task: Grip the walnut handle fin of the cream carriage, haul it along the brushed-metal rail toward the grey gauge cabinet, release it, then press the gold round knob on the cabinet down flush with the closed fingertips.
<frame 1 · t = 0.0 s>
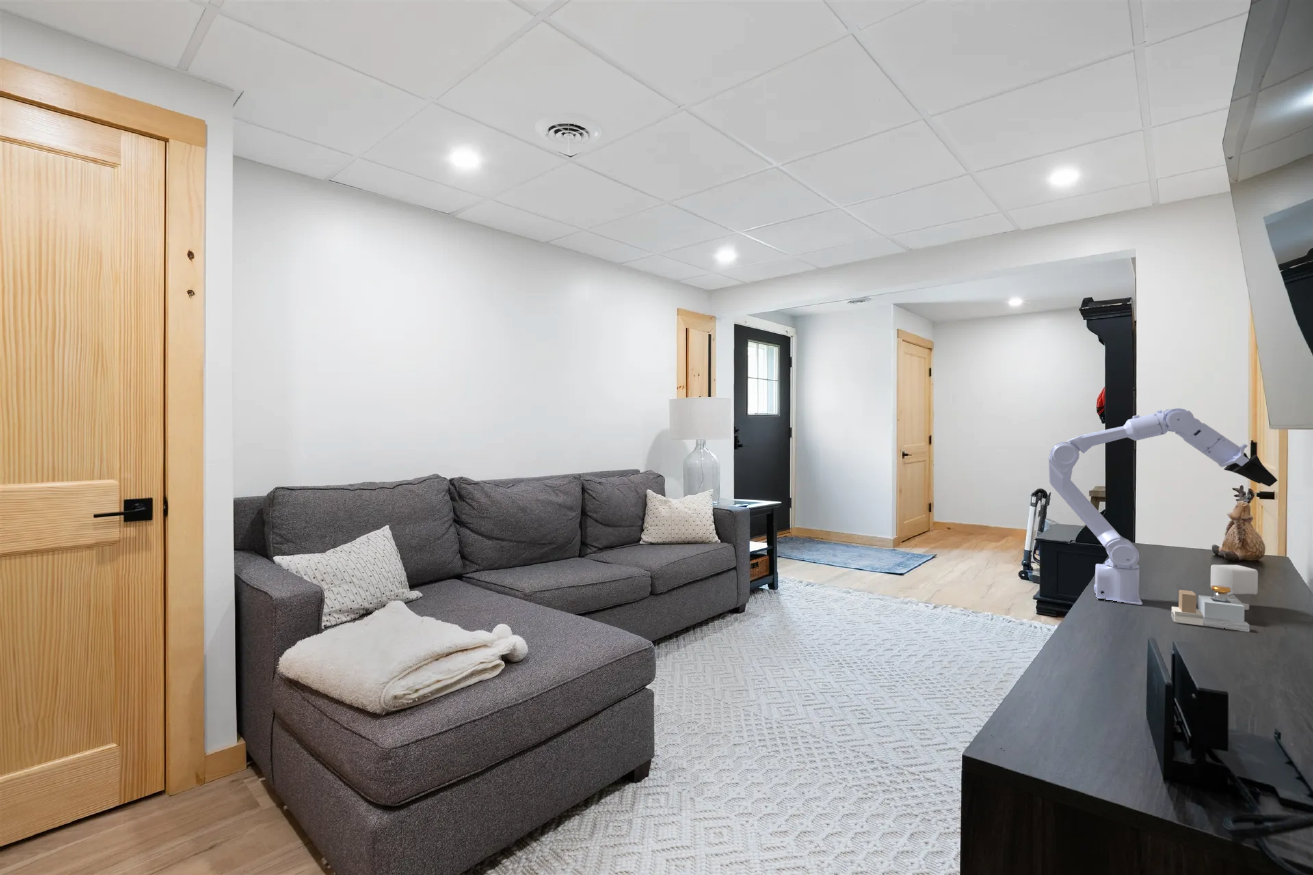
hand: (1268, 482, 148), 32 cm above the table, tool tilted 50°, fingers open, 7 cm apart
security camera: (1231, 607, 157), on the table
gauge cabinet: (1220, 617, 149), on the table
rail: (1209, 625, 143), on the table
gold round knob: (1220, 596, 149), point 5 cm above the table, slide at 0.0 cm
carriage: (1187, 606, 145), point 4 cm above the table, slide at 0.0 cm
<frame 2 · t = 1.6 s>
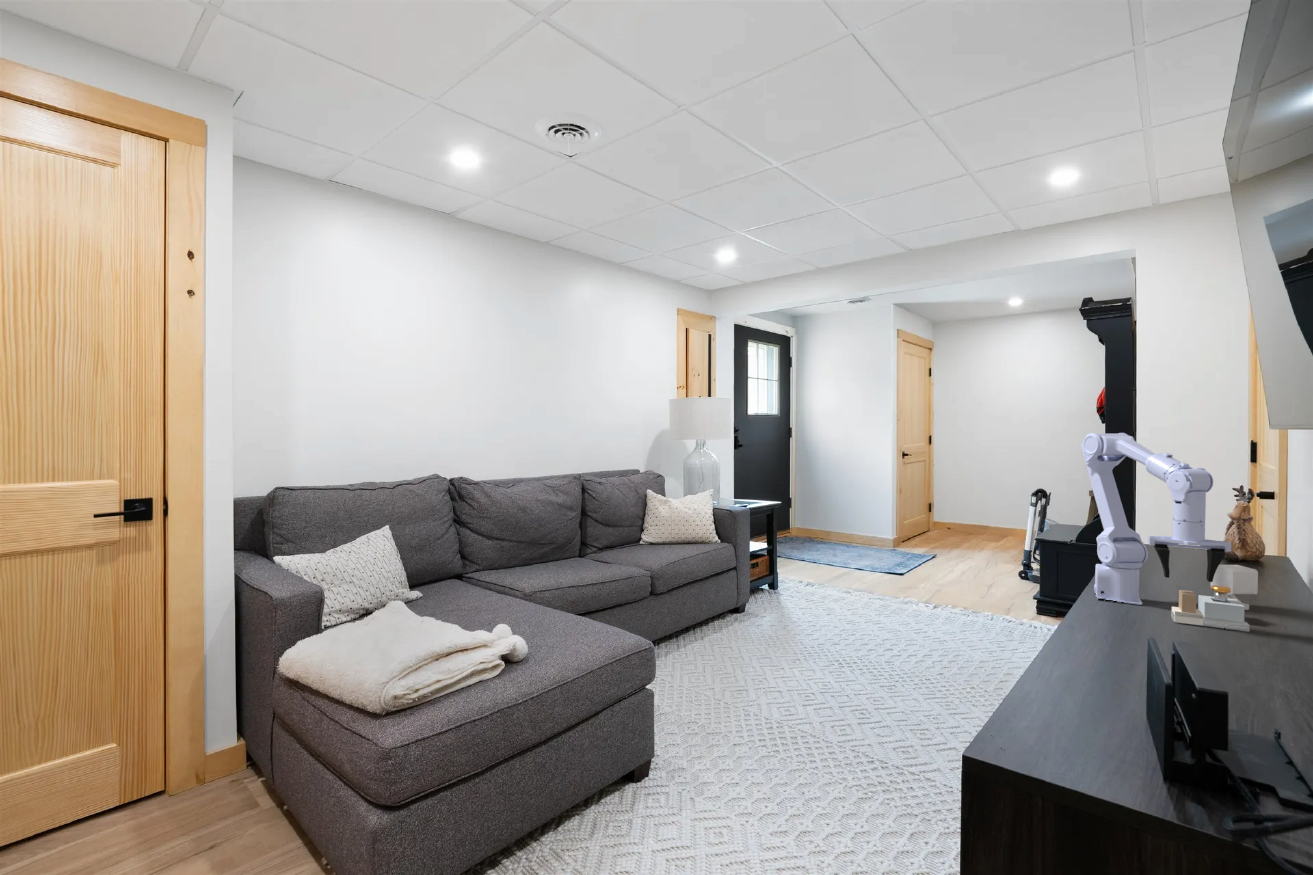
hand: (1187, 578, 145), 10 cm above the table, tool pointing down, fingers open, 7 cm apart
nothing on the table moved.
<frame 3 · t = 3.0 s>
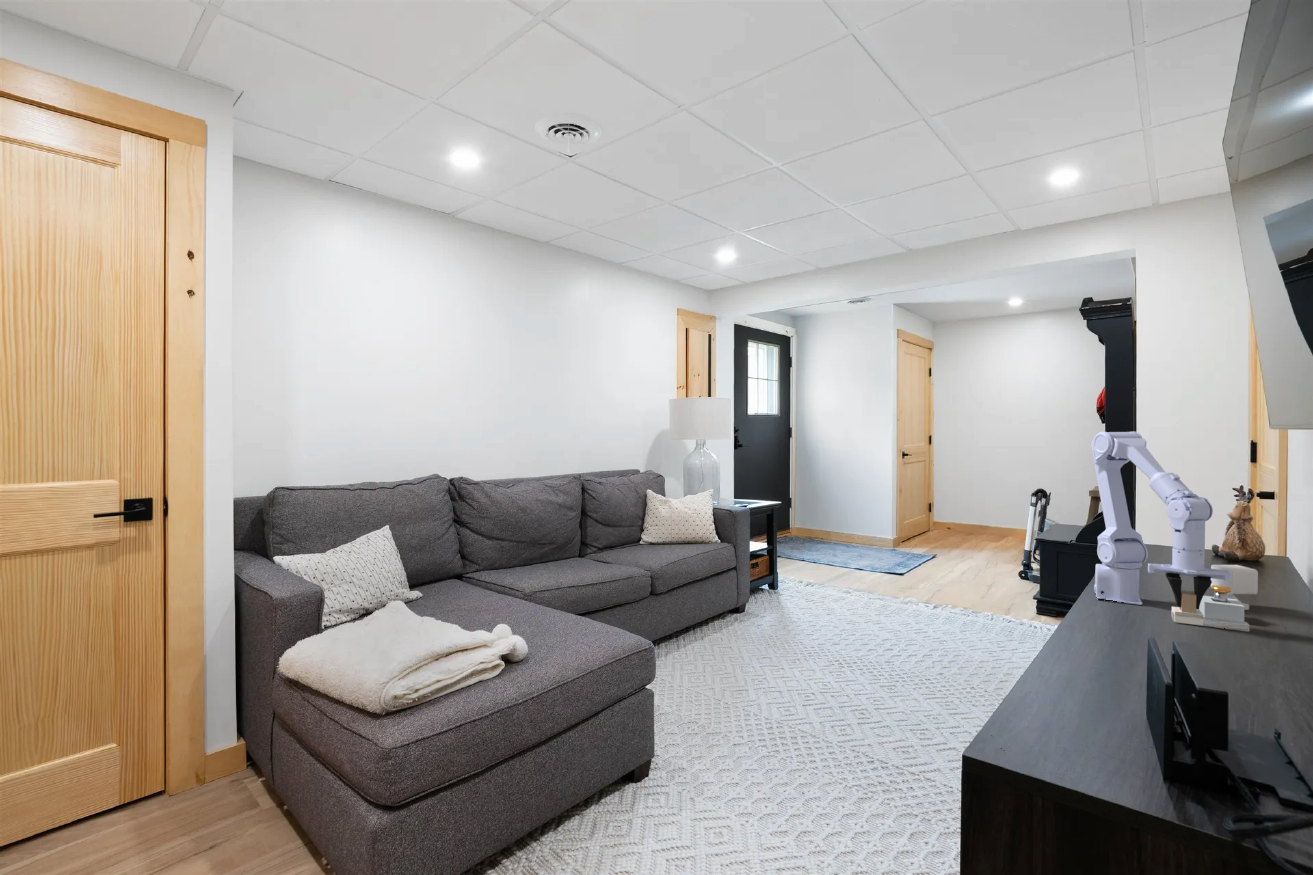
hand: (1187, 607, 145), 4 cm above the table, tool pointing down, fingers closed on carriage, 2 cm apart
carriage: (1187, 606, 145), point 4 cm above the table, slide at 0.0 cm, touching gripper
everything else where it was.
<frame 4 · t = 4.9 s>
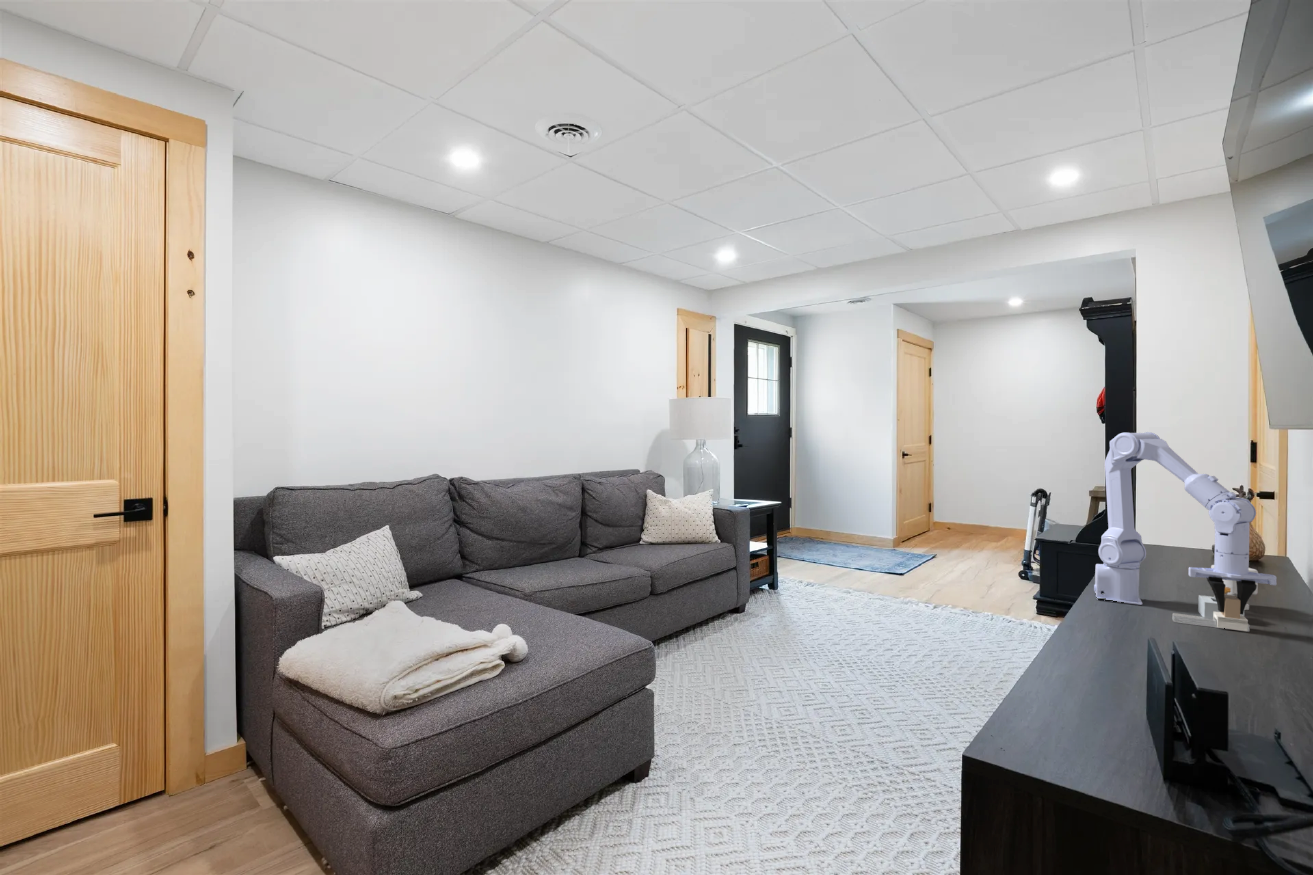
hand: (1230, 612, 141), 4 cm above the table, tool pointing down, fingers closed on carriage, 2 cm apart
carriage: (1230, 611, 141), point 4 cm above the table, slide at 7.5 cm, touching gripper
everything else where it was.
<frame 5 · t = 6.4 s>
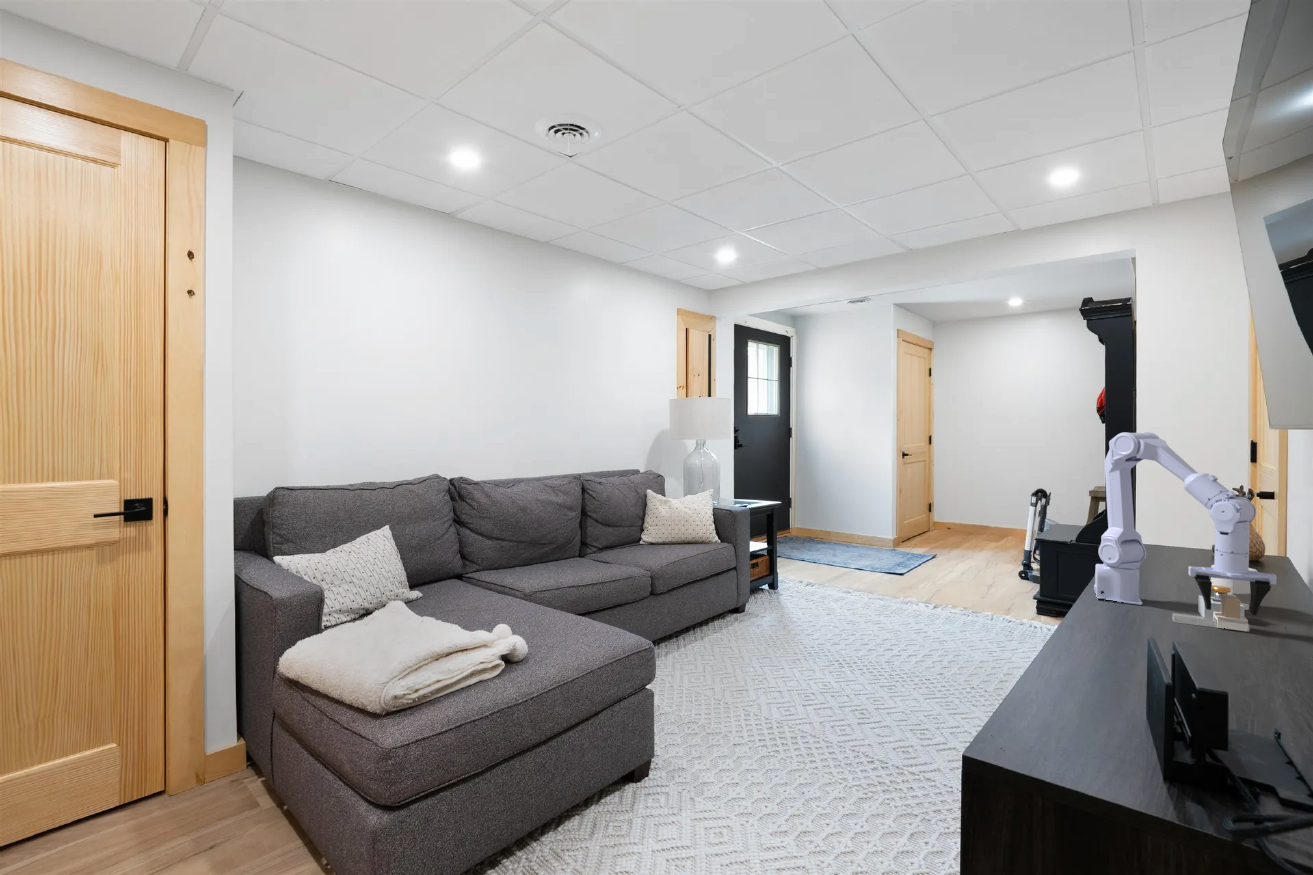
hand: (1230, 611, 141), 4 cm above the table, tool pointing down, fingers open, 7 cm apart
carriage: (1230, 611, 141), point 4 cm above the table, slide at 7.5 cm
everything else where it was.
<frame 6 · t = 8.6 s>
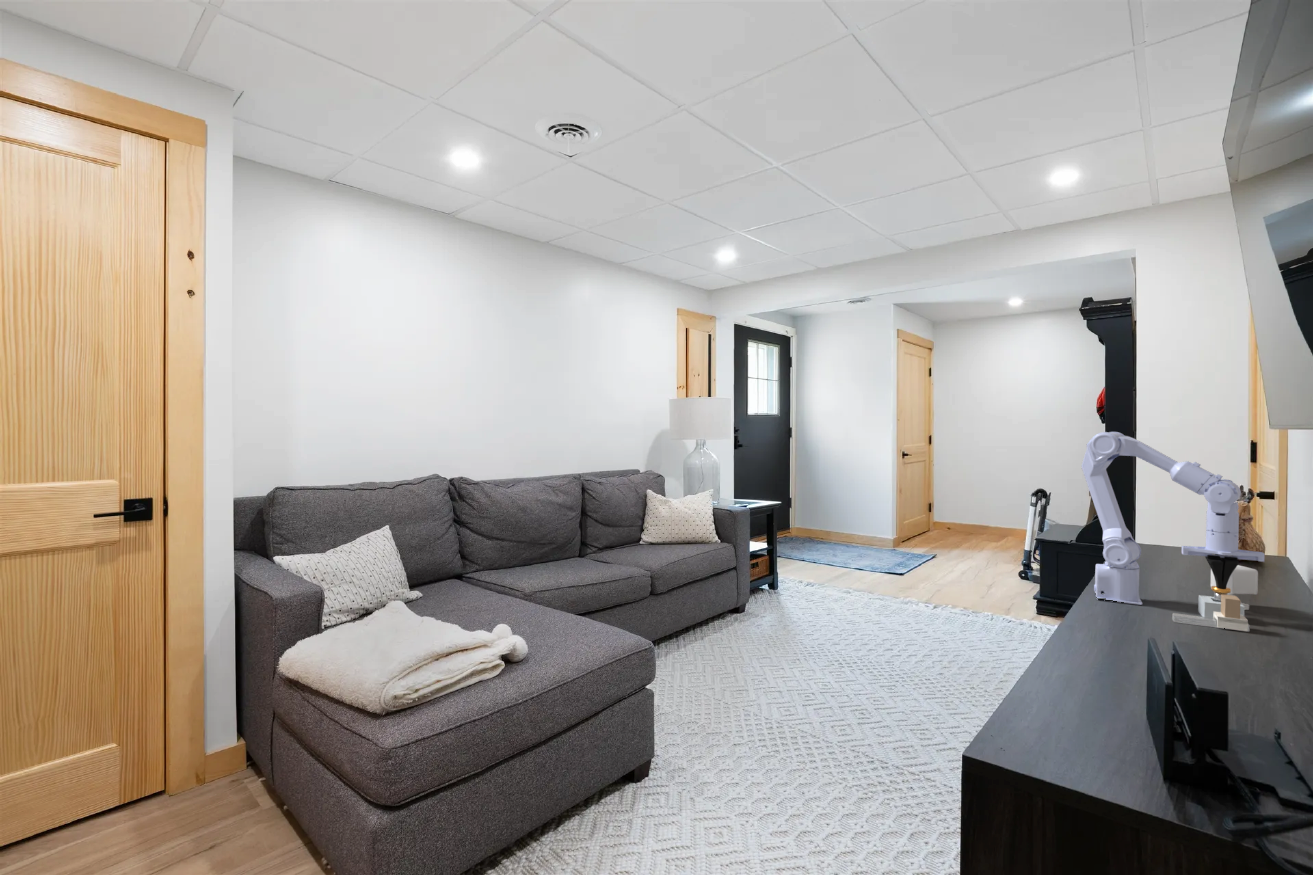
hand: (1221, 587, 148), 7 cm above the table, tool pointing down, fingers closed, pressing on gold round knob
gold round knob: (1220, 596, 149), point 5 cm above the table, slide at 0.1 cm, touching gripper
everything else where it was.
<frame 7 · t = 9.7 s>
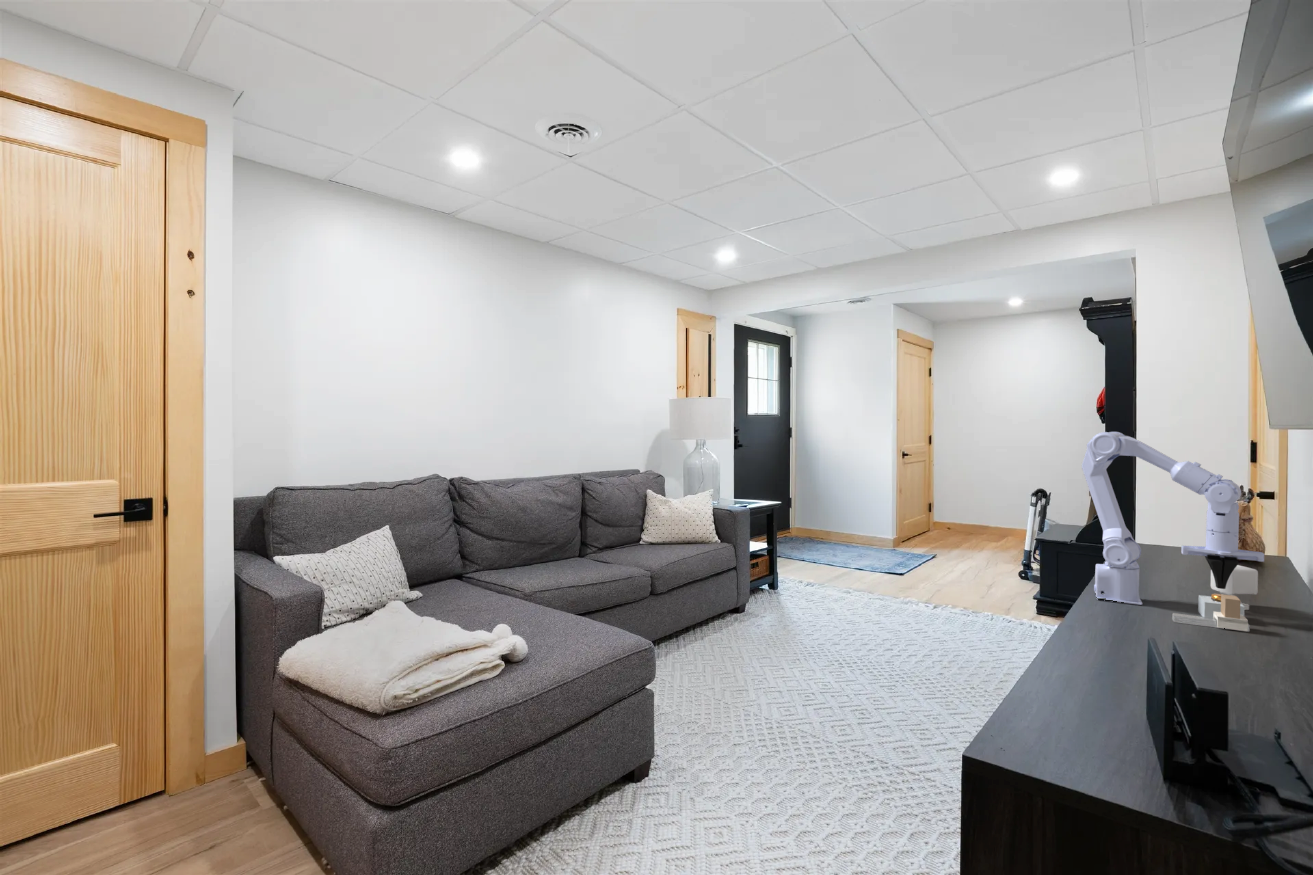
hand: (1220, 587, 149), 7 cm above the table, tool pointing down, fingers closed
gold round knob: (1220, 604, 149), point 3 cm above the table, slide at 2.0 cm
everything else where it was.
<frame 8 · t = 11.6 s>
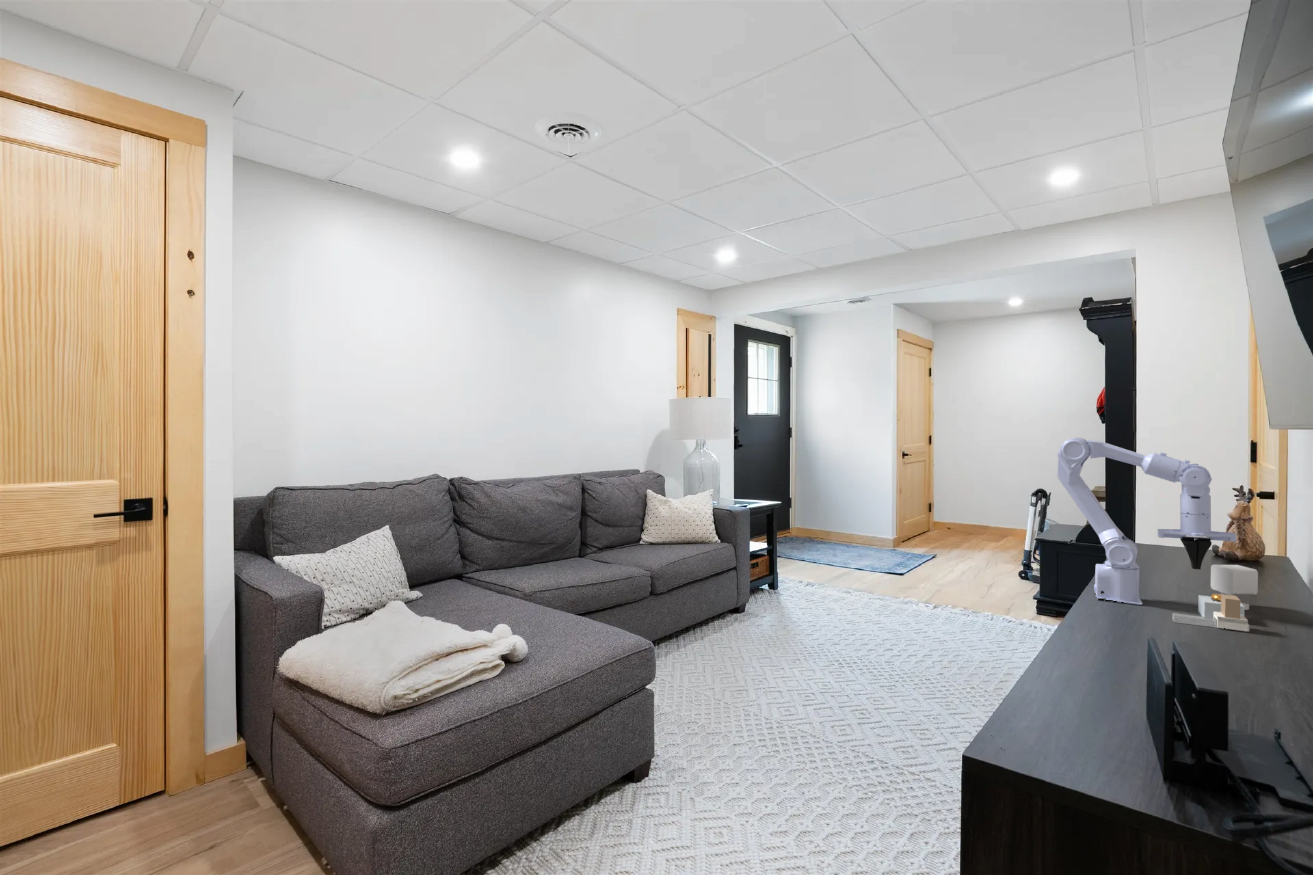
hand: (1196, 568, 154), 10 cm above the table, tool pointing down, fingers closed
nothing on the table moved.
at the end: carriage slide at 7.5 cm; gold round knob slide at 2.0 cm; the gripper is holding nothing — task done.
